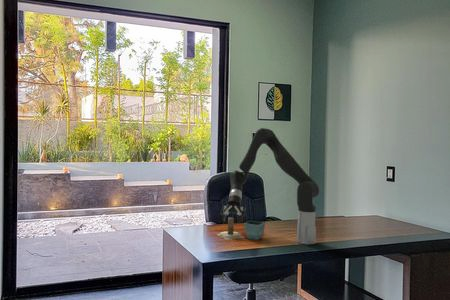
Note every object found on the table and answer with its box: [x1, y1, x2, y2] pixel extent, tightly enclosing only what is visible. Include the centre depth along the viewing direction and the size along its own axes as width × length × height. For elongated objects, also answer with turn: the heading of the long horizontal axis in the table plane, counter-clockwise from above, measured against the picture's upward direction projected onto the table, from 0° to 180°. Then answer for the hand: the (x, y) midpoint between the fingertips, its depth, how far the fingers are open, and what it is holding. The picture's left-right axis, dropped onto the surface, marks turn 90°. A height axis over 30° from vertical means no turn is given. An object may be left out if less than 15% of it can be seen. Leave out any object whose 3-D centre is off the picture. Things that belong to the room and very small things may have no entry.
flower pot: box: [244, 220, 266, 241], centre depth 212 cm, size 9×9×9 cm
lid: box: [219, 216, 242, 239], centre depth 215 cm, size 12×12×10 cm
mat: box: [216, 233, 246, 240], centre depth 215 cm, size 12×12×1 cm
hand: (231, 221), depth 217 cm, fingers open, 8 cm apart
